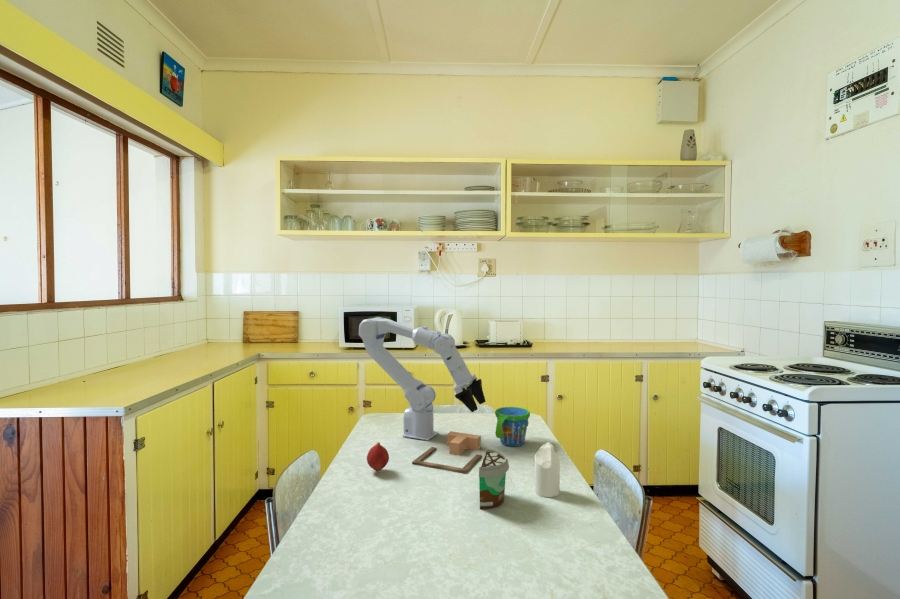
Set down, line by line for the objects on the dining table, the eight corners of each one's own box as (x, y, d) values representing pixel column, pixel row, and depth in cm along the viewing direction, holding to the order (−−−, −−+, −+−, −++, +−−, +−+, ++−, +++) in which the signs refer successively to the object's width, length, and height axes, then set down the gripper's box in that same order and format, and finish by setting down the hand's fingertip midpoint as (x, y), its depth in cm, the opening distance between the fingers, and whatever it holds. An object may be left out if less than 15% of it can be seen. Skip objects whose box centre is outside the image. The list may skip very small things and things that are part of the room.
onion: (362, 473, 123) (362, 443, 123) (375, 465, 128) (375, 437, 128) (380, 477, 121) (380, 447, 120) (393, 469, 126) (392, 440, 125)
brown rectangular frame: (412, 463, 129) (412, 461, 129) (431, 448, 141) (431, 446, 141) (465, 473, 123) (465, 471, 123) (481, 456, 134) (481, 454, 134)
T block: (450, 442, 146) (450, 431, 146) (480, 446, 142) (480, 435, 142) (438, 452, 138) (438, 440, 138) (470, 457, 134) (470, 445, 134)
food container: (506, 515, 101) (506, 470, 101) (478, 512, 103) (478, 467, 102) (510, 489, 113) (511, 449, 113) (485, 487, 115) (485, 447, 114)
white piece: (533, 446, 110) (535, 438, 115) (533, 495, 110) (535, 485, 116) (559, 448, 108) (560, 440, 114) (559, 498, 109) (560, 488, 114)
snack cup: (514, 433, 155) (514, 402, 154) (541, 441, 147) (541, 409, 147) (483, 445, 144) (483, 412, 144) (509, 454, 136) (509, 419, 136)
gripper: (459, 369, 140) (481, 409, 139) (475, 358, 153) (496, 394, 152) (441, 378, 143) (462, 418, 141) (458, 367, 156) (478, 403, 155)
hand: (478, 406), depth 147 cm, fingers open, 7 cm apart
